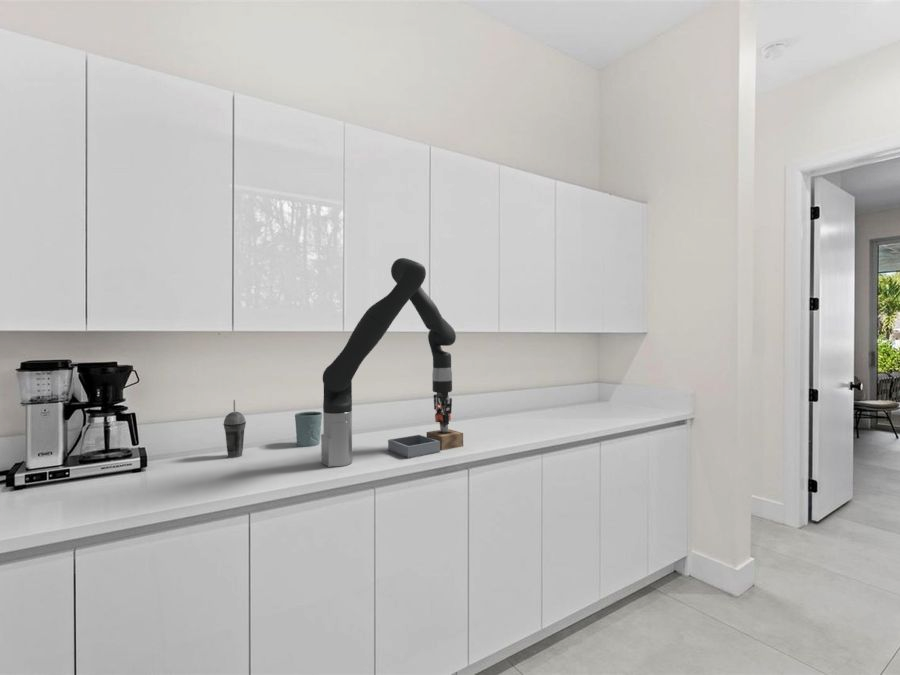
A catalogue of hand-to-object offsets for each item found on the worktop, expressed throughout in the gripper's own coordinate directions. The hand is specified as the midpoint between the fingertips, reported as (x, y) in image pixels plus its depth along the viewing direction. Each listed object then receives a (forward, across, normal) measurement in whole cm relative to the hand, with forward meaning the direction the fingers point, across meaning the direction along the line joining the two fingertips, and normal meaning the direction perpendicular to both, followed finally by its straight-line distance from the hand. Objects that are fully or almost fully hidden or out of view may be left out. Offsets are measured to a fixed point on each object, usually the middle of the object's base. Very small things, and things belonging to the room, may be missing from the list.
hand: (442, 423), depth 179 cm
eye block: (+8, -1, 0) cm, 9 cm away
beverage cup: (+9, +14, +73) cm, 75 cm away
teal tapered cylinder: (+8, +22, +48) cm, 53 cm away
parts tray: (+8, -5, +13) cm, 16 cm away
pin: (+7, 0, -1) cm, 7 cm away
